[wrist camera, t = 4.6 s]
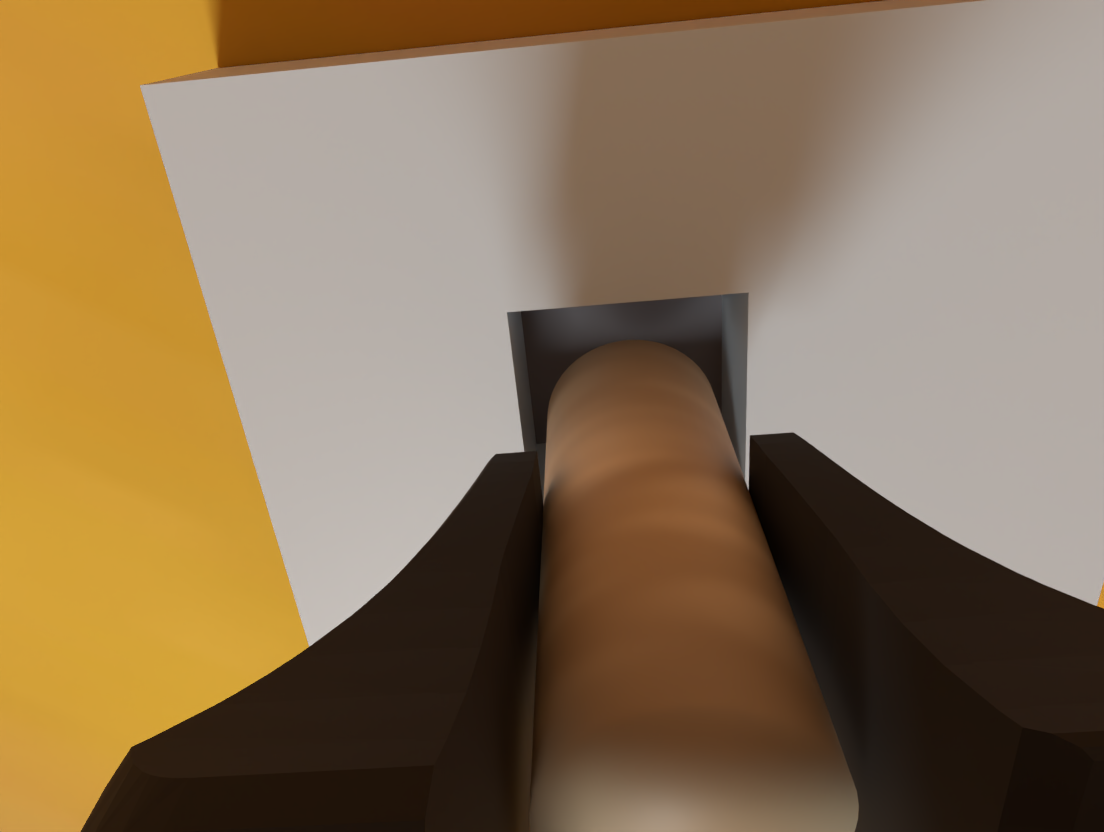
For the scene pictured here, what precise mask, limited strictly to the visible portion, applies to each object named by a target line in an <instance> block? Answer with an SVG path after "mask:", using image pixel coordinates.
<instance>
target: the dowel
mask: <svg viewBox="0 0 1104 832" xmlns="http://www.w3.org/2000/svg"><path fill="white" fill-rule="evenodd" d="M543 505H544V508H543V530H542V551H541V569H540V591H539V613H538V635H537V657H536V679H535V701H534V723H533V745H532V767H531V789H530V811H529V825H530V832H855V829H856V825H857V821H858V811H859V803H858V796H857V790H856V787H855V785H854V782H853V779H852V776H851V773H850V771H849V768H848V765H847V762H846V759H845V757H844V754H843V751H842V748H841V746H840V743H839V740H838V737H837V734H836V732H835V729H834V726H833V723H832V721H831V718H830V715H829V712H828V709H827V707H826V704H825V701H824V698H823V696H822V693H821V690H820V687H819V684H818V682H817V679H816V676H815V673H814V671H813V668H812V665H811V662H810V659H809V657H808V654H807V651H806V648H805V646H804V643H803V640H802V637H801V634H800V632H799V629H798V626H797V623H796V621H795V618H794V615H793V612H792V609H791V607H790V604H789V601H788V598H787V596H786V593H785V590H784V587H783V584H782V582H781V579H780V576H779V573H778V571H777V568H776V565H775V562H774V559H773V557H772V554H771V551H770V548H769V546H768V543H767V540H766V537H765V534H764V532H763V529H762V526H761V523H760V521H759V518H758V515H757V512H756V509H755V507H754V504H753V501H752V498H751V496H750V493H749V490H748V487H747V484H746V482H745V479H744V476H743V473H742V471H741V468H740V465H739V462H738V459H737V457H736V454H735V451H734V448H733V446H732V443H731V440H730V437H729V434H728V432H727V429H726V426H725V423H724V421H723V418H722V415H721V412H720V409H719V407H718V404H717V401H716V398H715V396H714V393H713V390H712V387H711V385H710V383H709V381H708V379H707V377H706V375H705V374H704V373H703V371H702V370H701V369H700V367H699V366H698V365H697V364H696V363H695V362H694V361H693V360H691V359H690V358H689V357H687V356H686V355H685V354H683V353H681V352H680V351H678V350H676V349H674V348H672V347H669V346H667V345H665V344H661V343H657V342H653V341H646V340H624V341H617V342H613V343H608V344H605V345H603V346H600V347H597V348H595V349H593V350H591V351H589V352H587V353H586V354H584V355H583V356H581V357H580V358H578V359H577V360H576V361H575V362H574V363H572V364H571V365H570V366H569V367H568V368H567V369H566V371H565V372H564V373H563V374H562V375H561V377H560V379H559V380H558V382H557V383H556V385H555V387H554V389H553V392H552V394H551V398H550V401H549V406H548V415H547V437H546V459H545V481H544V503H543Z"/></svg>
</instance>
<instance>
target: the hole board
mask: <svg viewBox="0 0 1104 832" xmlns="http://www.w3.org/2000/svg"><path fill="white" fill-rule="evenodd" d="M140 87H141V91H142V94H143V97H144V101H145V104H146V107H147V110H148V114H149V117H150V120H151V124H152V127H153V130H154V134H155V137H156V140H157V144H158V147H159V150H160V154H161V157H162V160H163V163H164V167H165V170H166V173H167V177H168V180H169V183H170V187H171V190H172V193H173V197H174V200H175V203H176V207H177V210H178V213H179V216H180V220H181V223H182V226H183V230H184V233H185V236H186V240H187V243H188V246H189V250H190V253H191V256H192V260H193V263H194V266H195V269H196V273H197V276H198V279H199V283H200V286H201V289H202V293H203V296H204V299H205V303H206V306H207V309H208V313H209V316H210V319H211V323H212V326H213V329H214V332H215V336H216V339H217V342H218V346H219V349H220V352H221V356H222V359H223V362H224V366H225V369H226V372H227V376H228V379H229V382H230V385H231V389H232V392H233V395H234V399H235V402H236V405H237V409H238V412H239V415H240V419H241V422H242V425H243V429H244V432H245V435H246V438H247V442H248V445H249V448H250V452H251V455H252V458H253V462H254V465H255V468H256V472H257V475H258V478H259V482H260V485H261V488H262V491H263V495H264V498H265V501H266V505H267V508H268V511H269V515H270V518H271V521H272V525H273V528H274V531H275V535H276V538H277V541H278V544H279V548H280V551H281V554H282V558H283V561H284V564H285V568H286V571H287V574H288V578H289V581H290V584H291V588H292V591H293V594H294V597H295V601H296V604H297V607H298V611H299V614H300V617H301V621H302V624H303V627H304V631H305V634H306V637H307V641H308V644H309V647H310V646H311V645H312V644H314V643H315V642H316V641H318V640H319V639H320V638H322V637H323V636H324V635H326V634H327V633H328V632H330V631H331V630H333V629H334V628H335V627H337V626H338V625H339V624H341V623H342V622H343V621H345V620H346V619H347V618H349V617H350V616H351V615H353V614H354V613H355V612H356V611H357V610H359V609H360V608H361V607H362V606H363V605H365V604H366V603H367V602H368V601H369V600H370V599H371V598H372V597H374V596H375V595H376V594H377V593H378V592H379V591H380V590H382V589H383V588H384V587H385V586H386V585H387V584H388V583H389V582H390V581H391V580H392V579H393V578H394V577H395V576H396V575H397V574H398V573H399V572H400V571H401V570H402V569H403V568H404V567H405V566H406V565H407V564H408V563H409V562H410V560H411V559H412V558H413V557H414V556H415V555H416V554H417V553H418V552H419V551H420V549H421V548H422V547H423V546H424V545H425V544H426V543H427V542H428V541H429V540H430V538H431V537H432V536H433V535H434V534H435V532H436V531H437V530H438V529H439V528H440V526H441V525H442V524H443V523H444V521H445V520H446V519H447V517H448V516H449V515H450V514H451V512H452V511H453V510H454V509H455V507H456V506H457V505H458V504H459V502H460V501H461V500H462V498H463V497H464V495H465V494H466V493H467V491H468V490H469V489H470V487H471V486H472V484H473V483H474V482H475V480H476V479H477V477H478V476H479V474H480V473H481V472H482V470H483V469H484V467H485V466H486V464H487V463H488V462H489V460H490V459H491V458H492V457H493V456H494V455H495V454H502V453H515V452H529V451H537V454H538V463H539V471H540V480H541V488H542V497H543V503H544V481H545V459H546V437H547V415H548V406H549V401H550V398H551V394H552V392H553V389H554V387H555V385H556V383H557V382H558V380H559V379H560V377H561V375H562V374H563V373H564V372H565V371H566V369H567V368H568V367H569V366H570V365H571V364H572V363H574V362H575V361H576V360H577V359H578V358H580V357H581V356H583V355H584V354H586V353H587V352H589V351H591V350H593V349H595V348H597V347H600V346H603V345H605V344H608V343H613V342H617V341H624V340H646V341H653V342H657V343H661V344H665V345H667V346H669V347H672V348H674V349H676V350H678V351H680V352H681V353H683V354H685V355H686V356H687V357H689V358H690V359H691V360H693V361H694V362H695V363H696V364H697V365H698V366H699V367H700V369H701V370H702V371H703V373H704V374H705V375H706V377H707V379H708V381H709V383H710V385H711V387H712V390H713V393H714V396H715V398H716V401H717V404H718V407H719V409H720V412H721V415H722V418H723V421H724V423H725V426H726V429H727V432H728V434H729V437H730V440H731V443H732V446H733V448H734V451H735V454H736V457H737V459H738V462H739V465H740V468H741V471H742V473H743V476H744V479H745V482H746V484H747V487H748V490H749V446H750V435H762V434H776V433H790V432H794V433H795V434H797V435H798V436H800V437H801V438H803V439H804V440H806V441H807V442H808V443H810V444H811V445H812V446H814V447H815V448H816V449H818V450H819V451H820V452H822V453H823V454H824V455H826V456H827V457H828V458H830V459H831V460H833V461H834V462H835V463H837V464H838V465H839V466H841V467H842V468H843V469H845V470H846V471H847V472H849V473H850V474H852V475H853V476H854V477H856V478H857V479H859V480H860V481H861V482H863V483H864V484H866V485H867V486H868V487H870V488H871V489H873V490H874V491H876V492H877V493H878V494H880V495H881V496H883V497H884V498H886V499H887V500H889V501H890V502H892V503H893V504H895V505H896V506H898V507H900V508H901V509H903V510H904V511H906V512H907V513H909V514H910V515H912V516H914V517H915V518H917V519H919V520H920V521H922V522H924V523H925V524H927V525H929V526H930V527H932V528H934V529H935V530H937V531H939V532H940V533H942V534H944V535H945V536H947V537H949V538H951V539H952V540H954V541H956V542H958V543H960V544H961V545H963V546H965V547H967V548H969V549H971V550H973V551H975V552H977V553H979V554H981V555H983V556H985V557H987V558H989V559H991V560H993V561H995V562H997V563H999V564H1001V565H1003V566H1005V567H1007V568H1009V569H1011V570H1013V571H1015V572H1017V573H1019V574H1021V575H1024V576H1026V577H1028V578H1030V579H1033V580H1035V581H1037V582H1039V583H1041V584H1044V585H1046V586H1049V587H1051V588H1053V589H1056V590H1058V591H1061V592H1063V593H1066V594H1068V595H1071V596H1073V597H1076V598H1078V599H1080V600H1083V601H1085V602H1088V603H1090V604H1093V605H1095V606H1097V603H1098V600H1099V596H1100V592H1101V589H1102V585H1103V581H1104V0H884V1H874V2H864V3H855V4H845V5H835V6H825V7H815V8H805V9H796V10H786V11H776V12H766V13H756V14H746V15H736V16H727V17H717V18H707V19H697V20H687V21H677V22H667V23H658V24H648V25H638V26H628V27H618V28H608V29H599V30H589V31H579V32H569V33H559V34H549V35H539V36H530V37H520V38H510V39H500V40H490V41H480V42H470V43H461V44H451V45H441V46H431V47H421V48H411V49H402V50H392V51H382V52H372V53H362V54H352V55H342V56H333V57H323V58H313V59H303V60H293V61H283V62H273V63H264V64H254V65H244V66H234V67H224V68H216V69H211V70H207V71H202V72H198V73H193V74H189V75H185V76H180V77H176V78H171V79H167V80H162V81H158V82H153V83H149V84H144V85H140Z"/></svg>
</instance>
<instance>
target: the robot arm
mask: <svg viewBox="0 0 1104 832" xmlns="http://www.w3.org/2000/svg"><path fill="white" fill-rule="evenodd" d="M749 493H750V496H751V498H752V501H753V504H754V507H755V509H756V512H757V515H758V518H759V521H760V523H761V526H762V529H763V532H764V534H765V537H766V540H767V543H768V546H769V548H770V551H771V554H772V557H773V559H774V562H775V565H776V568H777V571H778V573H779V576H780V579H781V582H782V584H783V587H784V590H785V593H786V596H787V598H788V601H789V604H790V607H791V609H792V612H793V615H794V618H795V621H796V623H797V626H798V629H799V632H800V634H801V637H802V640H803V643H804V646H805V648H806V651H807V654H808V657H809V659H810V662H811V665H812V668H813V671H814V673H815V676H816V679H817V682H818V684H819V687H820V690H821V693H822V696H823V698H824V701H825V704H826V707H827V709H828V712H829V715H830V718H831V721H832V723H833V726H834V729H835V732H836V734H837V737H838V740H839V743H840V746H841V748H842V751H843V754H844V757H845V759H846V762H847V765H848V768H849V771H850V773H851V776H852V779H853V782H854V785H855V787H856V790H857V796H858V803H859V811H858V821H857V825H856V829H855V832H1104V609H1103V608H1100V607H1098V606H1095V605H1093V604H1090V603H1088V602H1085V601H1083V600H1080V599H1078V598H1076V597H1073V596H1071V595H1068V594H1066V593H1063V592H1061V591H1058V590H1056V589H1053V588H1051V587H1049V586H1046V585H1044V584H1041V583H1039V582H1037V581H1035V580H1033V579H1030V578H1028V577H1026V576H1024V575H1021V574H1019V573H1017V572H1015V571H1013V570H1011V569H1009V568H1007V567H1005V566H1003V565H1001V564H999V563H997V562H995V561H993V560H991V559H989V558H987V557H985V556H983V555H981V554H979V553H977V552H975V551H973V550H971V549H969V548H967V547H965V546H963V545H961V544H960V543H958V542H956V541H954V540H952V539H951V538H949V537H947V536H945V535H944V534H942V533H940V532H939V531H937V530H935V529H934V528H932V527H930V526H929V525H927V524H925V523H924V522H922V521H920V520H919V519H917V518H915V517H914V516H912V515H910V514H909V513H907V512H906V511H904V510H903V509H901V508H900V507H898V506H896V505H895V504H893V503H892V502H890V501H889V500H887V499H886V498H884V497H883V496H881V495H880V494H878V493H877V492H876V491H874V490H873V489H871V488H870V487H868V486H867V485H866V484H864V483H863V482H861V481H860V480H859V479H857V478H856V477H854V476H853V475H852V474H850V473H849V472H847V471H846V470H845V469H843V468H842V467H841V466H839V465H838V464H837V463H835V462H834V461H833V460H831V459H830V458H828V457H827V456H826V455H824V454H823V453H822V452H820V451H819V450H818V449H816V448H815V447H814V446H812V445H811V444H810V443H808V442H807V441H806V440H804V439H803V438H801V437H800V436H798V435H797V434H795V433H794V432H790V433H776V434H762V435H750V446H749ZM543 508H544V505H543V497H542V488H541V480H540V471H539V463H538V454H537V451H529V452H515V453H502V454H495V455H494V456H493V457H492V458H491V459H490V460H489V462H488V463H487V464H486V466H485V467H484V469H483V470H482V472H481V473H480V474H479V476H478V477H477V479H476V480H475V482H474V483H473V484H472V486H471V487H470V489H469V490H468V491H467V493H466V494H465V495H464V497H463V498H462V500H461V501H460V502H459V504H458V505H457V506H456V507H455V509H454V510H453V511H452V512H451V514H450V515H449V516H448V517H447V519H446V520H445V521H444V523H443V524H442V525H441V526H440V528H439V529H438V530H437V531H436V532H435V534H434V535H433V536H432V537H431V538H430V540H429V541H428V542H427V543H426V544H425V545H424V546H423V547H422V548H421V549H420V551H419V552H418V553H417V554H416V555H415V556H414V557H413V558H412V559H411V560H410V562H409V563H408V564H407V565H406V566H405V567H404V568H403V569H402V570H401V571H400V572H399V573H398V574H397V575H396V576H395V577H394V578H393V579H392V580H391V581H390V582H389V583H388V584H387V585H386V586H385V587H384V588H383V589H382V590H380V591H379V592H378V593H377V594H376V595H375V596H374V597H372V598H371V599H370V600H369V601H368V602H367V603H366V604H365V605H363V606H362V607H361V608H360V609H359V610H357V611H356V612H355V613H354V614H353V615H351V616H350V617H349V618H347V619H346V620H345V621H343V622H342V623H341V624H339V625H338V626H337V627H335V628H334V629H333V630H331V631H330V632H328V633H327V634H326V635H324V636H323V637H322V638H320V639H319V640H318V641H316V642H315V643H314V644H312V645H311V646H310V647H308V648H307V649H306V650H304V651H303V652H301V653H300V654H299V655H297V656H296V657H294V658H293V659H291V660H289V661H288V662H286V663H285V664H283V665H282V666H280V667H279V668H277V669H276V670H274V671H272V672H271V673H269V674H268V675H266V676H264V677H263V678H261V679H259V680H258V681H256V682H254V683H253V684H251V685H249V686H248V687H246V688H244V689H243V690H241V691H239V692H238V693H236V694H234V695H233V696H231V697H229V698H227V699H225V700H224V701H222V702H220V703H218V704H216V705H215V706H213V707H211V708H209V709H207V710H205V711H203V712H201V713H199V714H197V715H195V716H193V717H191V718H189V719H187V720H185V721H183V722H181V723H179V724H177V725H175V726H173V727H172V728H170V729H168V730H166V731H164V732H162V733H160V734H158V735H156V736H154V737H152V738H150V739H148V740H146V741H143V742H141V743H139V744H137V745H135V746H133V747H131V749H130V750H129V752H128V753H127V755H126V756H125V758H124V760H123V761H122V763H121V764H120V766H119V767H118V769H117V770H116V772H115V773H114V775H113V777H112V778H111V780H110V781H109V783H108V784H107V786H106V787H105V789H104V791H103V793H102V794H101V796H100V798H99V800H98V802H97V803H96V805H95V807H94V809H93V811H92V812H91V814H90V816H89V818H88V820H87V821H86V823H85V825H84V827H83V828H82V830H81V832H530V825H529V811H530V789H531V767H532V745H533V723H534V701H535V679H536V657H537V635H538V613H539V591H540V569H541V551H542V530H543Z"/></svg>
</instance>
